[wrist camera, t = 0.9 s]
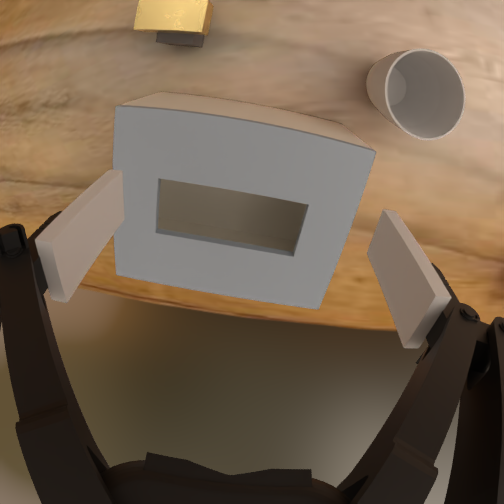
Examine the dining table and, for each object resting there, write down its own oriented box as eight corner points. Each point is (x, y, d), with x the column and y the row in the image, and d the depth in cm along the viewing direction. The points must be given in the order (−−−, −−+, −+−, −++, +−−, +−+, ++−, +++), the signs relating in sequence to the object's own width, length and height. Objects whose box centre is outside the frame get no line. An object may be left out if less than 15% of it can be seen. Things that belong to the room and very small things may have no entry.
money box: (161, 91, 31) (115, 106, 21) (341, 123, 32) (376, 152, 22) (150, 218, 40) (116, 274, 29) (305, 245, 41) (318, 309, 31)
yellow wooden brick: (150, 3, 22) (139, -2, 19) (213, 6, 22) (208, 0, 19) (145, 32, 23) (133, 29, 21) (207, 35, 24) (201, 32, 21)
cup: (356, 121, 32) (388, 142, 24) (347, 50, 28) (379, 46, 19) (420, 118, 31) (465, 139, 23) (414, 51, 27) (462, 52, 18)
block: (178, 3, 25) (165, -6, 21) (210, 5, 26) (202, -4, 21) (170, 44, 28) (156, 41, 24) (202, 47, 28) (192, 44, 24)
